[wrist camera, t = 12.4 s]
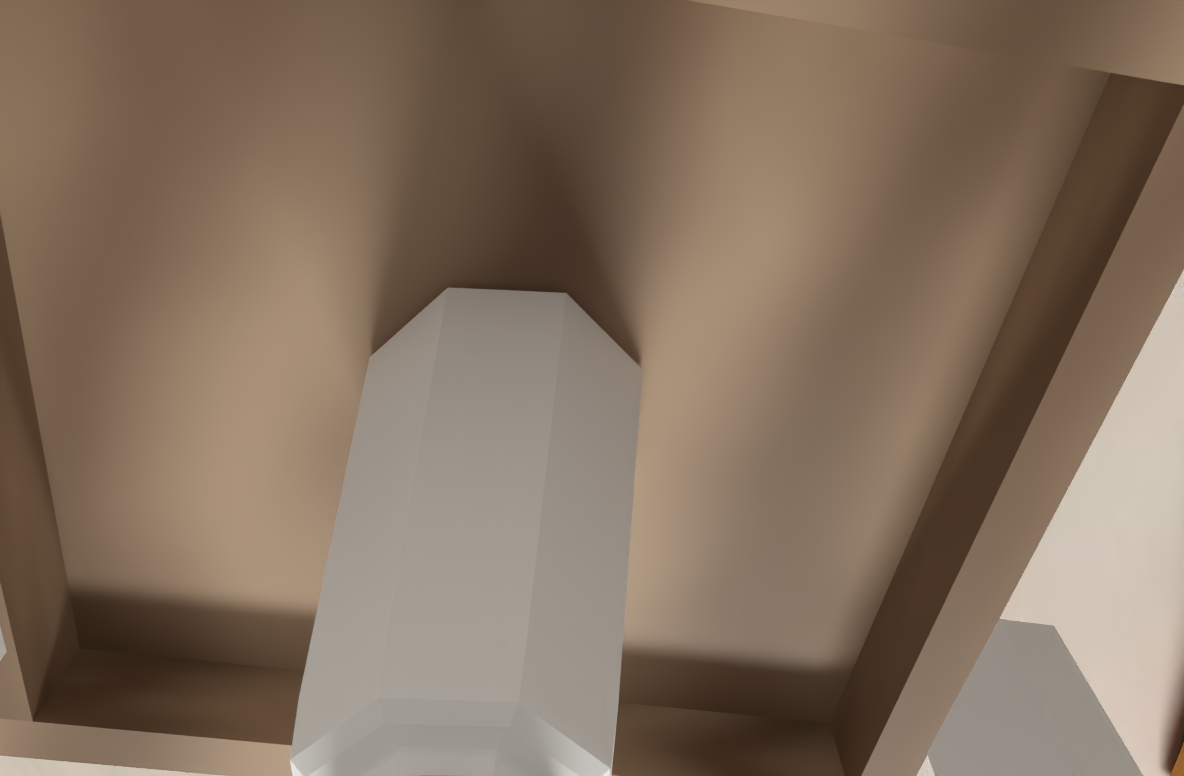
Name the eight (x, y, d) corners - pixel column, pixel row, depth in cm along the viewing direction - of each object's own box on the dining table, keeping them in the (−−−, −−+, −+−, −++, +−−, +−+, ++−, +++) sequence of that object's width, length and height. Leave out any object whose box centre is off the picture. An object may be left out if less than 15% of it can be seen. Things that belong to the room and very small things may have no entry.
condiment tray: (1194, -16, 14) (1321, 8, 12) (853, 733, 23) (885, 834, 21) (-138, -260, 12) (-312, -290, 10) (50, 653, 21) (-18, 753, 19)
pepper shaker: (422, 226, 15) (161, 823, 6) (700, 346, 16) (863, 1002, 7) (327, 462, 18) (32, 1155, 8) (575, 551, 19) (570, 1243, 9)
